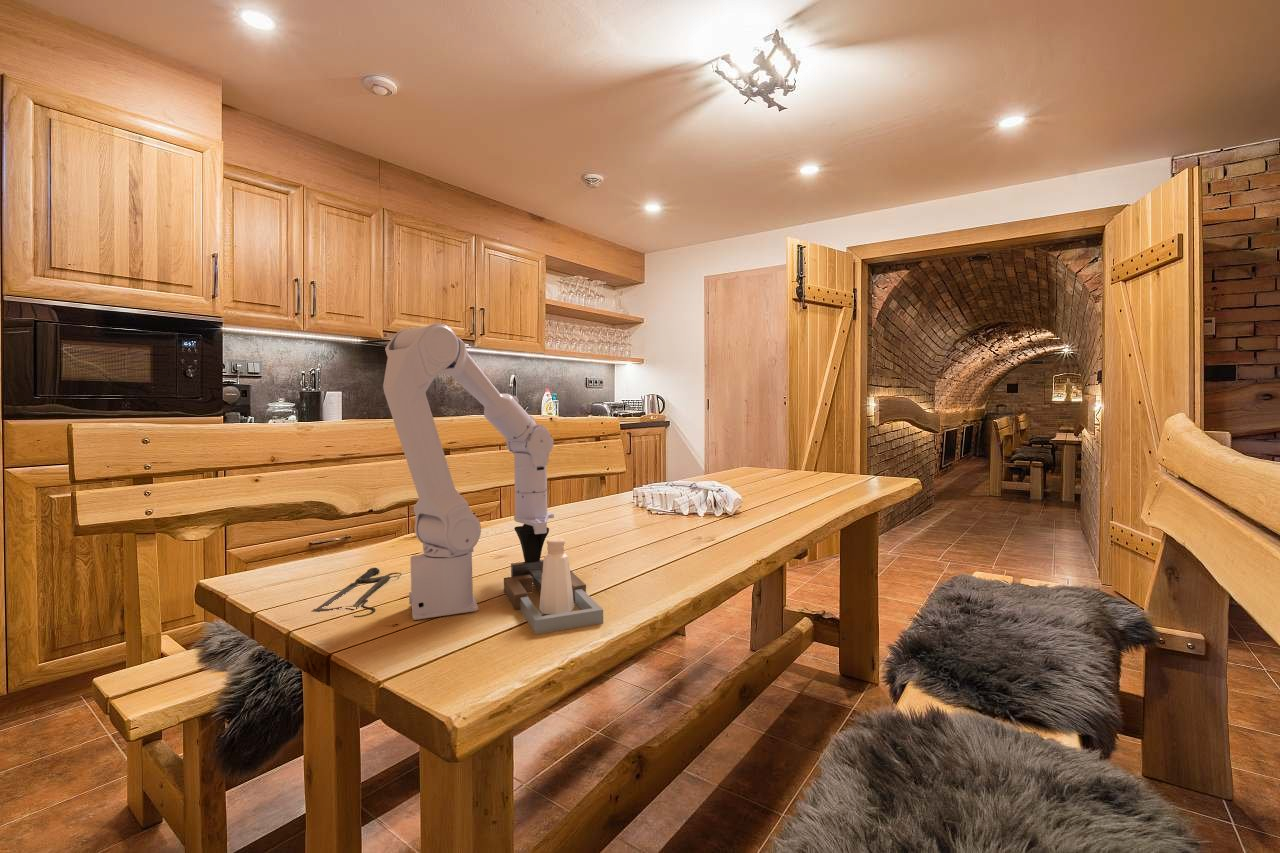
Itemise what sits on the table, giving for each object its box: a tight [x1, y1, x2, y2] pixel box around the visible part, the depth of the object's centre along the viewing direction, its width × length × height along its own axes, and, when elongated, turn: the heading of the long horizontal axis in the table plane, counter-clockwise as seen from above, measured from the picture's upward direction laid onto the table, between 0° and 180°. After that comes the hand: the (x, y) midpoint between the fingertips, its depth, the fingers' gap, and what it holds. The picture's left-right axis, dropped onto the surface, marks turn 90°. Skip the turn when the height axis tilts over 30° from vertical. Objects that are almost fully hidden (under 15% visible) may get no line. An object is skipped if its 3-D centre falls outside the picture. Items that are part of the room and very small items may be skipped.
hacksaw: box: [310, 567, 402, 618], centre depth 99 cm, size 24×10×2 cm, turn 2°
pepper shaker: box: [539, 537, 575, 615], centre depth 89 cm, size 5×5×11 cm
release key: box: [510, 559, 544, 594], centre depth 96 cm, size 8×14×3 cm, turn 23°
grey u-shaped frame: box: [519, 589, 604, 635], centre depth 86 cm, size 10×10×2 cm
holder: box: [503, 569, 587, 611], centre depth 95 cm, size 12×10×2 cm
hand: (532, 565), depth 103 cm, fingers closed
